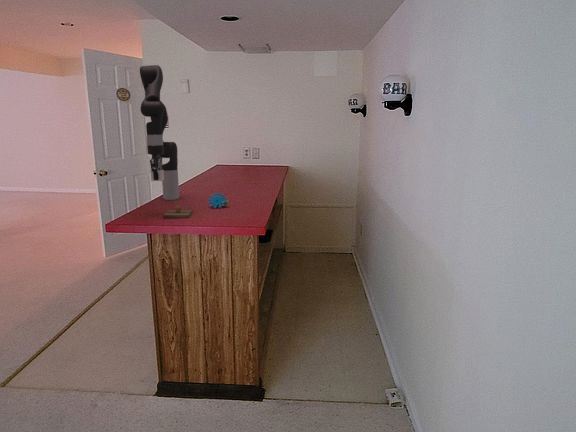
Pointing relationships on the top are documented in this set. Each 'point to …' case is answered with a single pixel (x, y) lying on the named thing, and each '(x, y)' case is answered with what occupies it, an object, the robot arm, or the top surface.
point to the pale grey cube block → (160, 173)
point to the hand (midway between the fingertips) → (157, 179)
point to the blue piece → (218, 200)
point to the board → (178, 213)
